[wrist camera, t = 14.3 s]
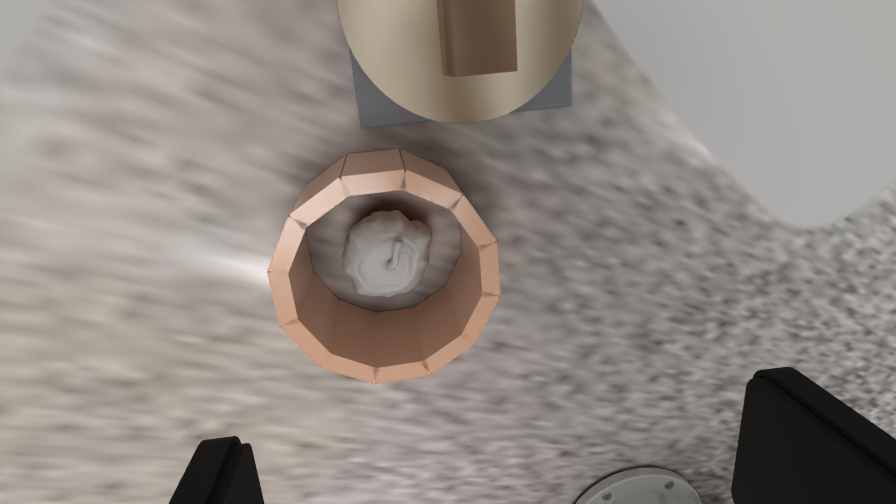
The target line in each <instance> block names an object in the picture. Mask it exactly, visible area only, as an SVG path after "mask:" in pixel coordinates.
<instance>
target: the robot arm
mask: <svg viewBox="0 0 896 504" xmlns="http://www.w3.org/2000/svg"><path fill="white" fill-rule="evenodd" d="M731 493H732V498H733V501H734V503H735V504H896V439H895V438H893V437H892V436H890V435H889V434H888V433H886V432H885V431H883V430H882V429H880V428H879V427H877V426H876V425H875V424H873V423H872V422H870V421H869V420H867V419H866V418H865V417H863V416H862V415H860V414H859V413H857V412H856V411H855V410H853V409H852V408H850V407H849V406H847V405H846V404H844V403H843V402H842V401H840V400H839V399H837V398H836V397H834V396H833V395H832V394H830V393H829V392H827V391H826V390H824V389H823V388H822V387H820V386H819V385H817V384H816V383H814V382H813V381H811V380H810V379H809V378H807V377H806V376H804V375H803V374H801V373H800V372H799V371H797V370H795V369H793V368H791V367H781V368H773V369H765V370H759V371H757V372H756V373H755V374H754V376H753V379H751V380H749V382H748V383H747V386H746V392H745V399H744V406H743V413H742V420H741V426H740V433H739V440H738V447H737V453H736V460H735V467H734V474H733V481H732V487H731ZM169 504H264V500H263V496H262V491H261V487H260V482H259V478H258V473H257V469H256V464H255V460H254V456H253V451H252V448H251V445H250V444H249V443H245V444H241V442H240V439H239V438H238V437H237V436H232V437H224V438H216V439H208V440H203V441H201V442H200V444H199V445H198V447H197V449H196V451H195V453H194V455H193V457H192V459H191V461H190V463H189V465H188V467H187V469H186V471H185V473H184V475H183V476H182V478H181V480H180V482H179V484H178V486H177V488H176V490H175V492H174V494H173V496H172V498H171V500H170V502H169ZM576 504H702V503H701V500H700V497H699V496H698V494H697V493H696V491H695V490H694V489H693V487H692V486H691V485H690V484H689V483H688V481H687V480H686V479H685V478H683V477H681V476H680V475H678V474H677V473H674V472H672V471H669V470H666V469H660V468H636V469H631V470H626V471H623V472H620V473H617V474H614V475H612V476H610V477H608V478H606V479H604V480H602V481H600V482H599V483H597V484H596V485H594V486H593V487H592V488H590V489H589V490H588V491H587V492H586V493H585V494H584V495H583V496H581V497H580V499H579V500H578V501H577V502H576Z"/></svg>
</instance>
